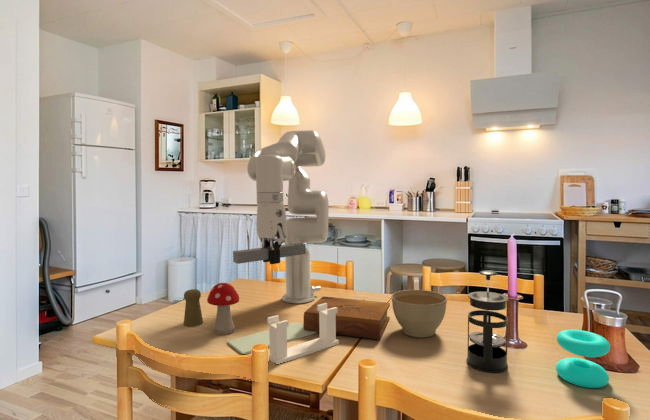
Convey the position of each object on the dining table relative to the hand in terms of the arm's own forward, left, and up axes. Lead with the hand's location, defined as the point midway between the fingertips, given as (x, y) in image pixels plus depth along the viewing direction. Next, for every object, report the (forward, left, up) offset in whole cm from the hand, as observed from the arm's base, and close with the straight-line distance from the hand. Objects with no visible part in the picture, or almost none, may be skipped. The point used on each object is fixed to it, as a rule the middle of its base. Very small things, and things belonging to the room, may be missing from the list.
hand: (271, 261), depth 112 cm
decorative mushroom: (+9, -14, -23) cm, 28 cm away
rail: (0, 0, +1) cm, 1 cm away
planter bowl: (-36, +24, -23) cm, 49 cm away
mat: (0, 0, -22) cm, 22 cm away
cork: (+14, -27, -23) cm, 38 cm away
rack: (-2, +13, -22) cm, 26 cm away
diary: (-23, +7, -22) cm, 33 cm away
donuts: (-42, +65, -23) cm, 81 cm away
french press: (-32, +48, -23) cm, 62 cm away
